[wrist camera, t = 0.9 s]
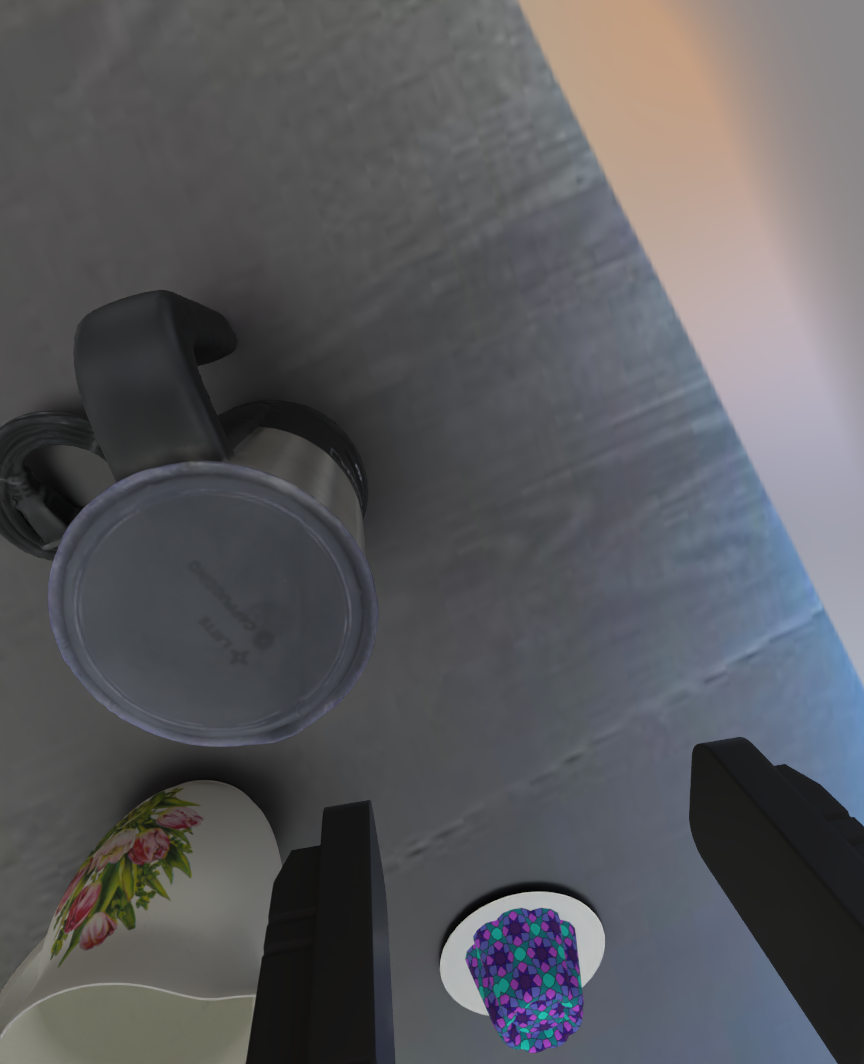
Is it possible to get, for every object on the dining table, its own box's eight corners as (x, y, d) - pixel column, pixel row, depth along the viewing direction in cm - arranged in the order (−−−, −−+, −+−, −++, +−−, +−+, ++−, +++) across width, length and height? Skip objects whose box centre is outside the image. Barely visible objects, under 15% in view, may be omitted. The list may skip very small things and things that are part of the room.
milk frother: (404, 510, 32) (439, 642, 18) (174, 672, 34) (44, 911, 20) (225, 272, 28) (92, 206, 14) (-31, 470, 29) (-391, 592, 15)
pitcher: (3, 830, 35) (-201, 1116, 22) (277, 701, 35) (229, 917, 22) (113, 946, 39) (-8, 1250, 26) (362, 831, 39) (365, 1082, 26)
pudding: (510, 856, 41) (531, 928, 36) (633, 922, 44) (669, 996, 39) (404, 971, 43) (411, 1055, 38) (530, 1026, 46) (551, 1109, 41)
